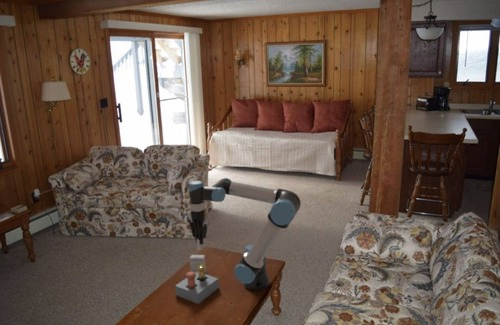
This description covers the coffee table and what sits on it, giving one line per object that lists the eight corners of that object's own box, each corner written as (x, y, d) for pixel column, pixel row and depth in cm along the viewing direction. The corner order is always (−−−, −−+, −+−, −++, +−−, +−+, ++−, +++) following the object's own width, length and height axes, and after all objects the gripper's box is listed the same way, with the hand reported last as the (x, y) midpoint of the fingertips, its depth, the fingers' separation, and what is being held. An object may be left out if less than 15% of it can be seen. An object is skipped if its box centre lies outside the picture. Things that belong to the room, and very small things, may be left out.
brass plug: (209, 279, 234) (208, 266, 232) (202, 284, 230) (202, 270, 227) (201, 277, 237) (200, 263, 234) (195, 281, 232) (194, 267, 230)
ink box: (206, 271, 251) (205, 254, 248) (204, 276, 246) (203, 258, 243) (192, 271, 252) (191, 254, 249) (190, 275, 247) (189, 258, 244)
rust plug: (198, 287, 227) (197, 273, 224) (192, 292, 222) (191, 277, 220) (191, 284, 230) (190, 270, 227) (184, 289, 225) (183, 275, 223)
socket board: (218, 287, 234) (218, 278, 232) (198, 304, 219) (197, 294, 218) (197, 280, 242) (196, 271, 241) (176, 295, 228) (175, 285, 226)
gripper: (211, 209, 221) (213, 249, 227) (192, 205, 228) (195, 243, 234) (202, 214, 215) (204, 254, 221) (183, 209, 222) (186, 249, 228)
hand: (200, 249), depth 228 cm, fingers closed
